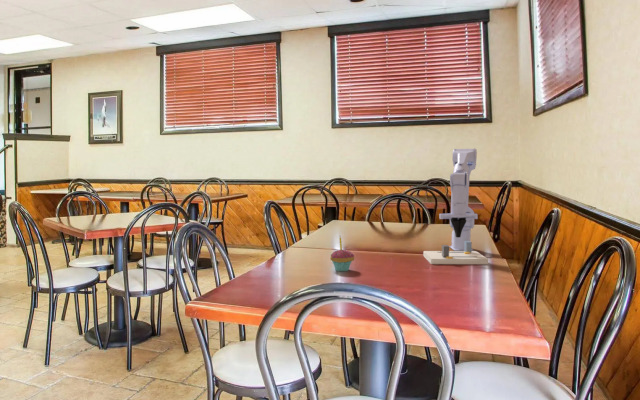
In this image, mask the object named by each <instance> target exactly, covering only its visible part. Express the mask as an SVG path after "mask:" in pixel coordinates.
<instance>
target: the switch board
mask: <svg viewBox="0 0 640 400" xmlns="http://www.w3.org/2000/svg"><path fill="white" fill-rule="evenodd" d="M422 255H423V257H424V258H425V259H426V260H427V262H428V263H429V264H431V265H489V258H487V256H484V255H483V254H481V253H480V252H478V251H477V250H473V251H471V252H465V251H454V250H449V256H446V257H443V256H442V250H423V253H422Z"/></svg>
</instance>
